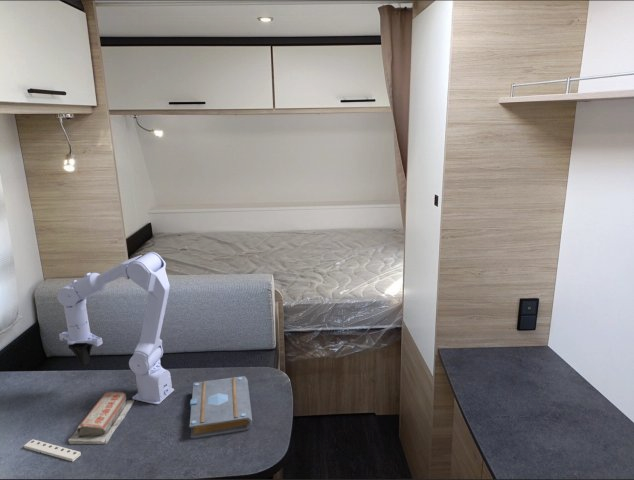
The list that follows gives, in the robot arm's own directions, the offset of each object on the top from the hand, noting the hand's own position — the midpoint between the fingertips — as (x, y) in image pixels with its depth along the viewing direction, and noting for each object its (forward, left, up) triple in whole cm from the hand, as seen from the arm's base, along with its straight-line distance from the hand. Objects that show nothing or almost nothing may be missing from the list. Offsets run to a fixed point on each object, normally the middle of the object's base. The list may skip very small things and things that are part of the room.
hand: (84, 363), depth 140 cm
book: (-44, -3, -10) cm, 46 cm away
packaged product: (-16, +11, -10) cm, 22 cm away
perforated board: (-12, +24, -9) cm, 29 cm away
